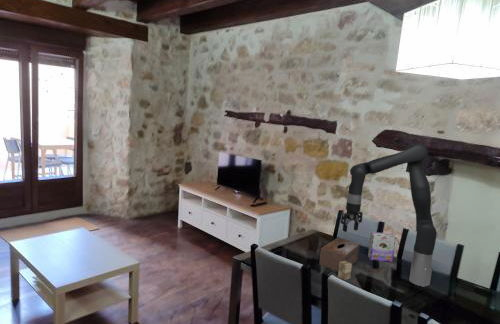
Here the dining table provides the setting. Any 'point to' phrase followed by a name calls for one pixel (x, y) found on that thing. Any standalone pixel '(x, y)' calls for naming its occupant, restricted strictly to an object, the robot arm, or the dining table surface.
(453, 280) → the dining table surface
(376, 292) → the dining table surface
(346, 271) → the oak block
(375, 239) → the candy box
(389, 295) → the dining table surface
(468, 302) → the dining table surface
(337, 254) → the tissue box cover
